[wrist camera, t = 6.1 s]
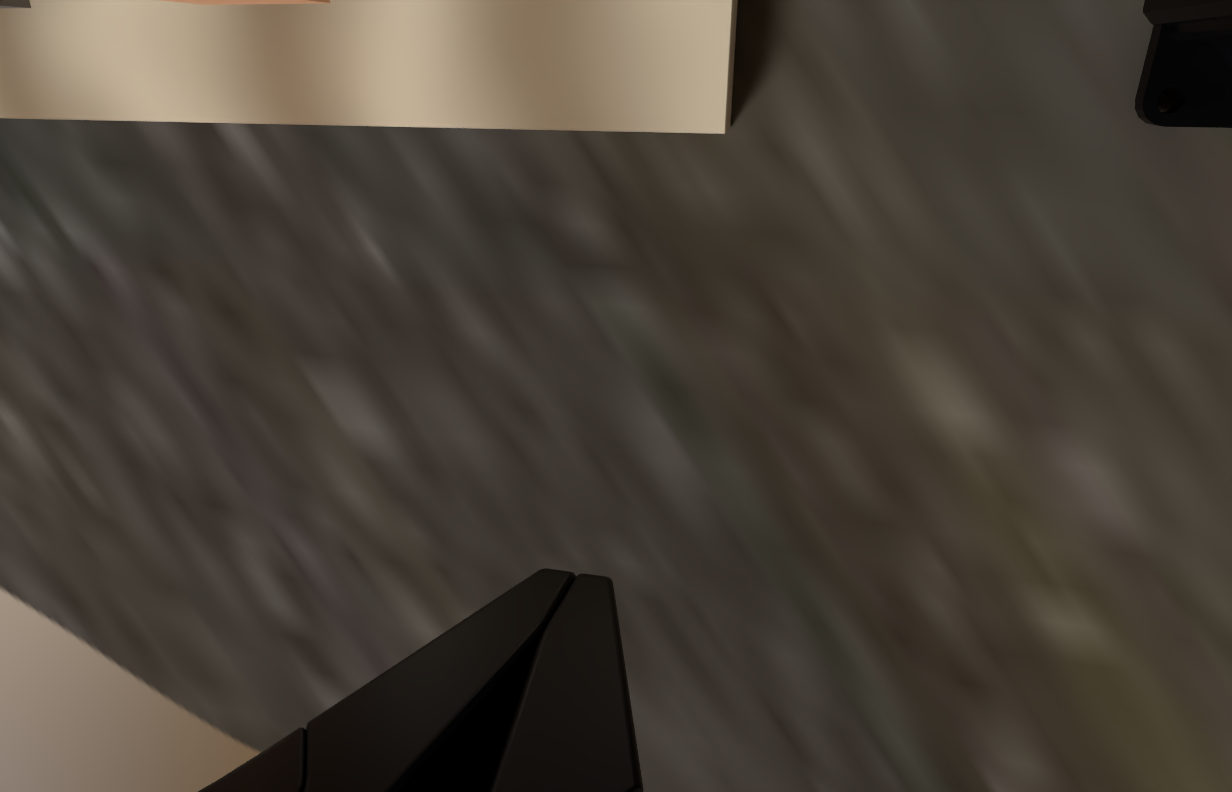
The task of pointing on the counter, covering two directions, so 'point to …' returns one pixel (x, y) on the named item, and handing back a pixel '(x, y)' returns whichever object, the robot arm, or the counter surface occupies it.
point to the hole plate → (375, 63)
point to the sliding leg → (249, 2)
